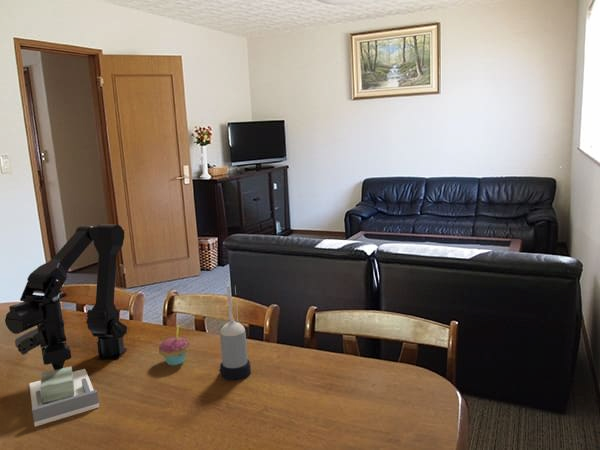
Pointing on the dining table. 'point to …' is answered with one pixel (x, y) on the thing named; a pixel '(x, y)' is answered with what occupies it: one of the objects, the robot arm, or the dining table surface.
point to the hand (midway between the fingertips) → (58, 374)
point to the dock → (64, 400)
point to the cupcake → (174, 349)
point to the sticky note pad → (57, 384)
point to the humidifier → (233, 348)
